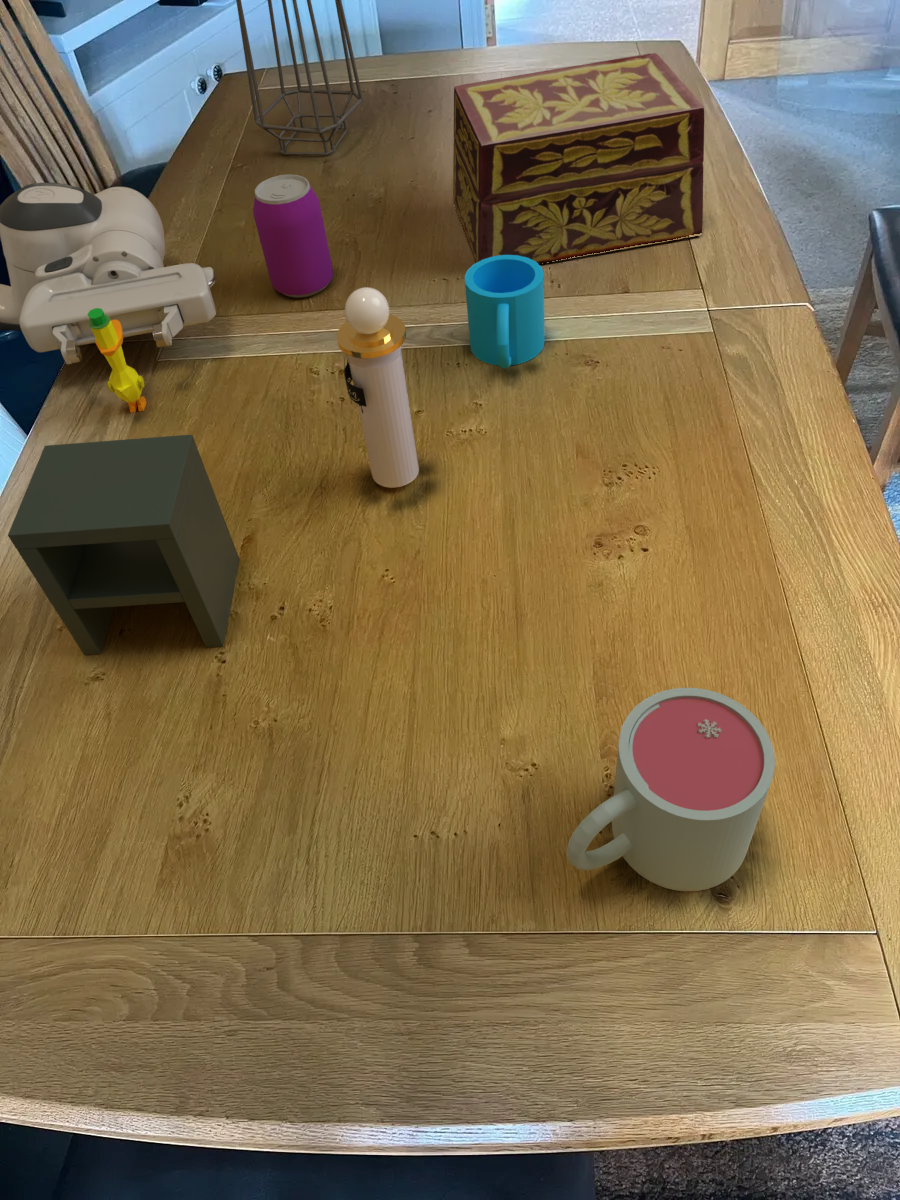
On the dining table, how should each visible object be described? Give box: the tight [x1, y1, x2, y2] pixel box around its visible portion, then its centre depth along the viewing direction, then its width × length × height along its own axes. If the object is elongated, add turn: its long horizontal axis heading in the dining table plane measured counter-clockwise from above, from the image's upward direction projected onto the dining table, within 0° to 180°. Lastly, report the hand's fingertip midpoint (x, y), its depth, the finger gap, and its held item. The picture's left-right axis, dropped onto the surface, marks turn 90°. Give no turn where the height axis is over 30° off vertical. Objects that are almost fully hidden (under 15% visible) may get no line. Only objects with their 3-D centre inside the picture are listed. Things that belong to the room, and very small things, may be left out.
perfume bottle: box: [336, 286, 420, 489], centre depth 82 cm, size 6×6×20 cm
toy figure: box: [87, 308, 148, 414], centre depth 96 cm, size 7×4×12 cm, turn 8°
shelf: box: [7, 434, 240, 656], centre depth 76 cm, size 12×10×14 cm
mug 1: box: [464, 255, 546, 369], centre depth 98 cm, size 12×8×8 cm
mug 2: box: [566, 687, 776, 892], centre depth 60 cm, size 14×9×10 cm
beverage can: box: [252, 174, 334, 299], centre depth 110 cm, size 8×8×12 cm
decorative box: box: [452, 52, 705, 265], centre depth 113 cm, size 28×19×15 cm
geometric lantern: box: [235, 0, 364, 156], centre depth 126 cm, size 16×16×35 cm
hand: (116, 349), depth 96 cm, fingers open, 8 cm apart
